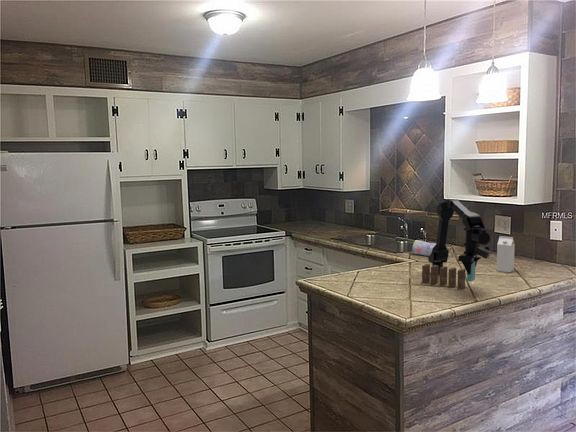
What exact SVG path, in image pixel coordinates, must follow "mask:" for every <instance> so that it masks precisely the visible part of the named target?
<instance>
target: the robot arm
mask: <svg viewBox="0 0 576 432" xmlns="http://www.w3.org/2000/svg"><path fill="white" fill-rule="evenodd" d="M454 212H455V213H456V214H457V215H458V216H459V217H460V218H461V222H462V224H463V225H464V228H463V229H462V230H463V231H465V239H464V240H465V242H464V243H463V246H464V251H463V253H462V254H459V256H458V257H457V258H458V259H457V261H458V262H461V263H462V265H463V267H464V269H466V275H467V274H470V273H471V268H472V264H473V263H474V262H475V268H476V267H477V263H478V261H479V260H481V259H482V258H483V259H488V258H490V255H491V254H492V250H491V247H490V246H489V245H488V246H486V245H487V244H488V243H489V242H490V241H491V236H490V234H489V233H488V232H487V229H486V227H485V224H484V221H483V219H482V217H481V215H480V214H478V213H476V212H473V211H470V210H469V209H468V208H467V207H466V206H464V205H463V204H462V202H460V200H459V199H456V198H455V199H453V198H451V199H449V200H447V201H443V202H442V203H441V202H440V203H439V204H437V205H436V214H437V216H438V225H437V226H438V228H437V234H436V245H435V246H434V247H433V249H432V253H431V254H430V256H427V257H428V258H427V261H428V262H429V264H431V267H432V266H434V265H439V270H438V276H440V268H441V267H443V266H444V263H447V262H448V259H449V252H450V251H449V249H448V248H447V239H448V232H449V224H450V220H451V219H452V217H453V216H454V214H455V213H454ZM481 245H482V246H481ZM483 245H485V247H484V246H483Z"/></svg>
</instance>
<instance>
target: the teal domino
mask: <svg viewBox="0 0 576 432" xmlns="http://www.w3.org/2000/svg"><path fill="white" fill-rule="evenodd" d="M475 279H476V267H475V262H474V263H473V264H472V268H471V273H470V274H467V273H466V281H467V282H473V281H475Z"/></svg>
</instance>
